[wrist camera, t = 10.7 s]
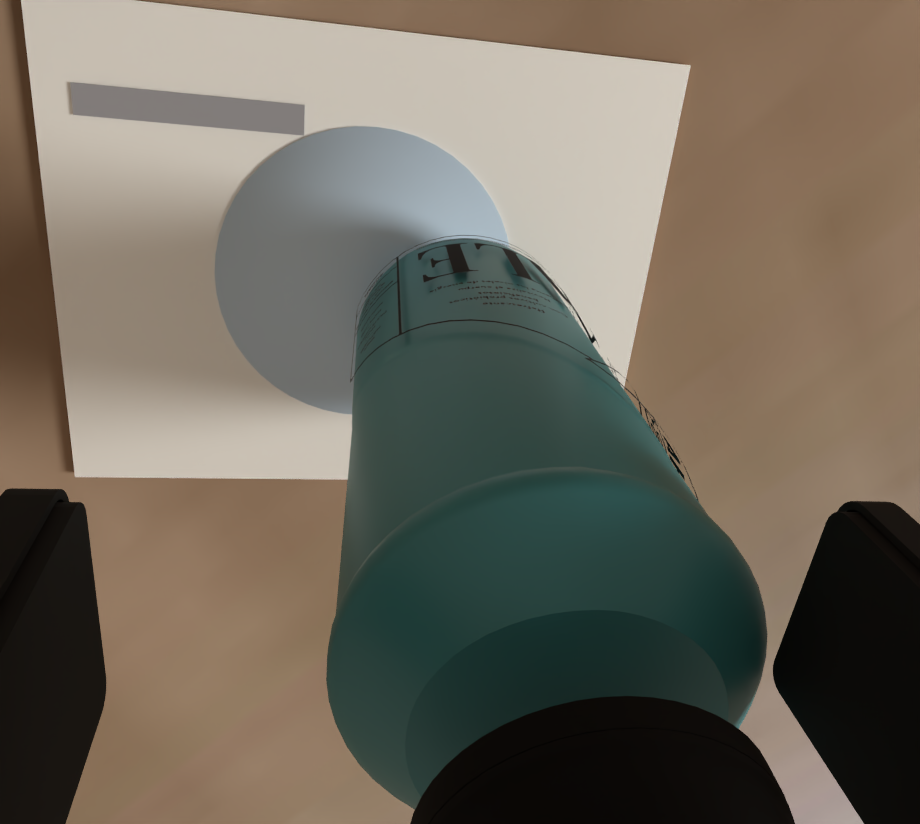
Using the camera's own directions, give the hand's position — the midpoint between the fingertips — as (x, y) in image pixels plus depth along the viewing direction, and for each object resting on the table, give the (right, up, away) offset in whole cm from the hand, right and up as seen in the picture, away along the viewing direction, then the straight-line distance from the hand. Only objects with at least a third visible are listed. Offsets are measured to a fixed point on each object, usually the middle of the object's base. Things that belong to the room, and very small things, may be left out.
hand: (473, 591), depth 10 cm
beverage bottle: (0, +5, +15) cm, 16 cm away
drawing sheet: (-3, +6, +15) cm, 16 cm away
